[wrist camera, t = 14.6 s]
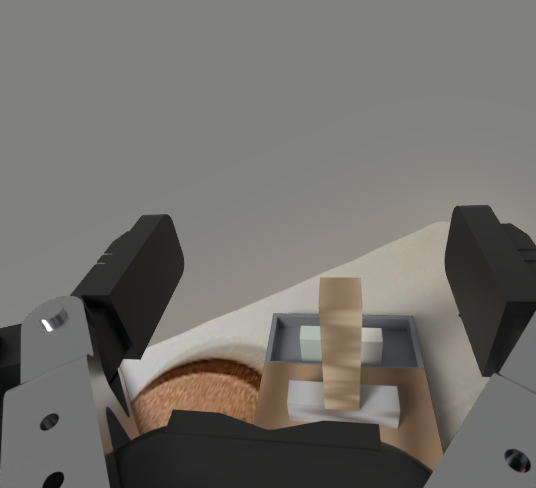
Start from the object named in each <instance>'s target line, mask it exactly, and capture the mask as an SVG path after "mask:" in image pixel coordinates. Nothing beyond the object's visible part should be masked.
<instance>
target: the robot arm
mask: <svg viewBox="0 0 536 488" xmlns="http://www.w3.org/2000/svg"><path fill="white" fill-rule="evenodd" d="M104 253H105V254H104V255H102V256H101V258H100V259H99V260H98V261H97V265H94V266H93V268H92V269H91V270H90V271H89V273H88V274H87V275H86V276H85V277H84V279H83V280H82V281H81V283H80V284H79V285H78V287H77V288H76V289H75V290H74V291H73V292H72V294H71V295H70V296H62V297H58V298H55V299H52V300H49V301H47V302H45V303H43V304H41V305H40V306H38V307H37V308H35V309H34V310H33V311H32V312H31V313H30V314H29V315H28V316H27V317H26V318H25V320H24V321H23V323H22V324H18V325H14V326H9V327H4V328H0V488H536V245H535V244H534V243H533V241H532V240H531V238H530V237H529V235H527V234H526V233H524V232H523V231H521V230H520V229H518V228H517V227H515V226H514V225H512V224H510V223H508V224H500V222H499V220H498V219H497V217H496V216H495V214H494V212H493V211H492V209H491V208H490V206H488V205H469V206H456V207H455V208H454V210H453V213H452V219H451V224H450V229H449V235H448V240H447V246H446V251H445V271H446V276H447V279H448V282H449V284H450V287H451V290H452V293H453V296H454V299H455V301H456V304H457V307H458V310H459V313H460V315H461V318H462V321H463V324H464V327H465V330H466V332H467V335H468V338H469V341H470V344H471V347H472V349H473V352H474V355H475V358H476V361H477V363H478V366H479V369H480V372H481V375H482V377H491V378H490V379H489V381H488V383H487V384H486V386H485V388H484V389H483V391H482V392H481V394H480V396H479V397H478V399H477V401H476V402H475V404H474V406H473V407H472V409H471V410H470V412H469V414H468V415H467V417H466V419H465V420H464V422H463V424H462V425H461V427H460V429H459V430H458V432H457V433H456V435H455V437H454V438H453V440H452V442H451V443H450V445H449V447H448V448H447V450H446V451H445V453H444V455H443V456H442V458H441V460H440V461H439V463H438V465H437V466H436V468H435V469H434V471H432V470H431V469H430V468H429V467H427V466H426V465H425V464H423V463H422V462H421V461H420V460H418V459H417V458H415V457H413V456H412V455H410V454H408V453H407V452H405V451H403V450H401V449H399V448H397V447H395V446H393V445H390V444H387V443H384V442H382V441H381V439H380V429H379V424H369V423H355V422H341V421H327V420H323V421H318V422H312V423H307V424H301V425H296V426H290V427H285V428H279V429H273V430H268V429H263V428H261V427H258V426H255V425H252V424H249V423H247V422H244V421H241V420H238V419H235V418H233V417H230V416H227V415H224V414H221V413H214V412H200V411H186V410H173V411H172V414H171V416H170V419H169V422H168V425H167V426H164V427H161V428H157V429H154V430H151V431H149V432H146V433H144V434H142V435H140V434H139V431H138V429H137V426H136V422H135V419H134V415H133V411H132V408H131V404H130V400H129V397H128V393H127V389H126V386H125V382H124V378H123V375H122V372H121V370H120V368H119V366H120V364H121V362H122V360H123V359H138V360H140V359H141V357H142V355H143V353H144V351H145V349H146V347H147V345H148V343H149V341H150V339H151V337H152V335H153V333H154V331H155V329H156V327H157V325H158V323H159V321H160V319H161V317H162V315H163V313H164V311H165V309H166V307H167V305H168V303H169V301H170V299H171V297H172V295H173V292H174V291H175V288H176V286H177V285H178V283H179V280H180V278H181V276H182V274H183V270H184V257H183V253H182V249H181V246H180V243H179V240H178V237H177V234H176V230H175V227H174V224H173V221H172V219H171V217H170V216H169V215H167V214H163V215H162V214H161V215H143V216H141V217H140V219H139V220H138V221H137V222H136V224H135V225H134V226H133V228H132V229H131V230H130V231H128V232H126V233H125V234H123V235H122V236H120V237H119V238H118V239H116V240H115V241H113V243H112V244H111V245H110V246H109V248H108V249H107V250H106V251H105V252H104Z"/></svg>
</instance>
